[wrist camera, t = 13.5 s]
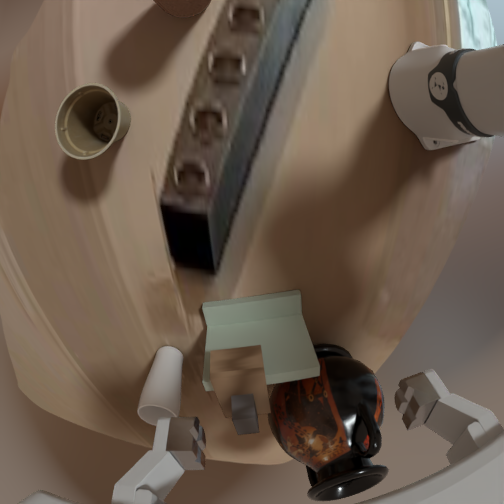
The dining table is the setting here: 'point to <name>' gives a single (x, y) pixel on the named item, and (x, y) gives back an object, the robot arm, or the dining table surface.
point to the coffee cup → (183, 7)
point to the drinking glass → (162, 387)
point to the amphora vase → (332, 424)
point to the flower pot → (90, 121)
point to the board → (263, 334)
